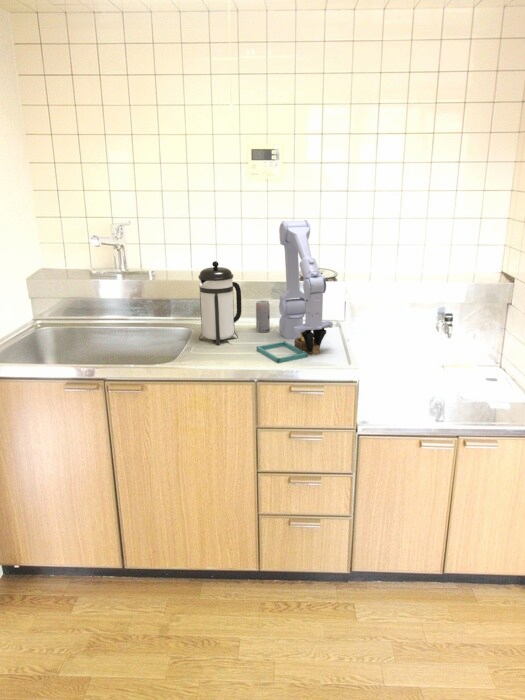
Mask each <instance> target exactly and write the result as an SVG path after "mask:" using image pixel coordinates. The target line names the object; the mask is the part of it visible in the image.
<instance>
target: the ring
mask: <svg viewBox="0 0 525 700" xmlns="http://www.w3.org/2000/svg"><path fill="white" fill-rule="evenodd" d="M294 346H295V347H296V348H298V349H300V350H302V351H307V352H306V353H308V354H309V353H310V354H311V355H313V356H315V355H319V354H320V350H319V349H320V348H319V345H318V344H316V343H314V338H313V348H312V351H311V352H310V351H308V350H307V346H306V343H305V342H301V337H300V338H296V339H294Z"/></svg>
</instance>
